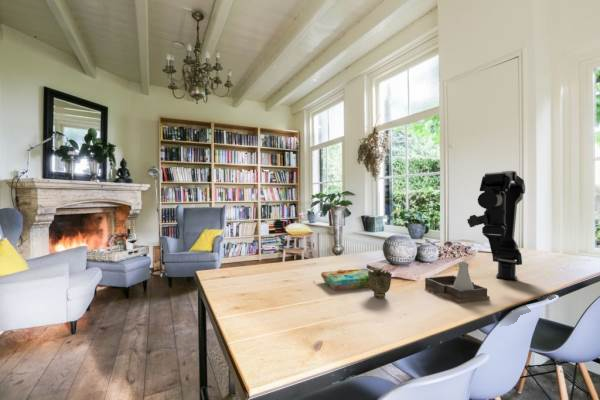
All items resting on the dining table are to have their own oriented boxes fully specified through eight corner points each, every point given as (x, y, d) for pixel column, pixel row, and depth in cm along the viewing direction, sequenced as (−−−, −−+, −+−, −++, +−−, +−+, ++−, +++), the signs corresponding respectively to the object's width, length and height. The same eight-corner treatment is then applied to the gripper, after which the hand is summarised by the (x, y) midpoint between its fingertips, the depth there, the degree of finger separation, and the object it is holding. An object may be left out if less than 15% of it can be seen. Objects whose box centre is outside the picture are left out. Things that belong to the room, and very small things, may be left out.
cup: (378, 302, 88) (379, 276, 87) (363, 295, 94) (363, 271, 94) (396, 298, 91) (396, 273, 91) (380, 291, 98) (380, 268, 97)
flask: (472, 290, 95) (473, 261, 95) (478, 298, 88) (479, 266, 88) (448, 288, 98) (449, 259, 97) (452, 295, 91) (453, 264, 90)
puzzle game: (321, 270, 108) (366, 266, 115) (321, 282, 108) (366, 277, 115) (334, 279, 97) (384, 273, 103) (334, 292, 97) (384, 286, 103)
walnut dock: (425, 287, 101) (425, 277, 101) (452, 285, 105) (452, 275, 104) (458, 303, 87) (458, 291, 87) (489, 299, 90) (489, 288, 90)
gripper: (472, 206, 113) (471, 245, 113) (465, 208, 98) (464, 253, 98) (507, 207, 106) (506, 248, 106) (505, 209, 91) (504, 257, 91)
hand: (494, 251), depth 101 cm, fingers open, 9 cm apart
